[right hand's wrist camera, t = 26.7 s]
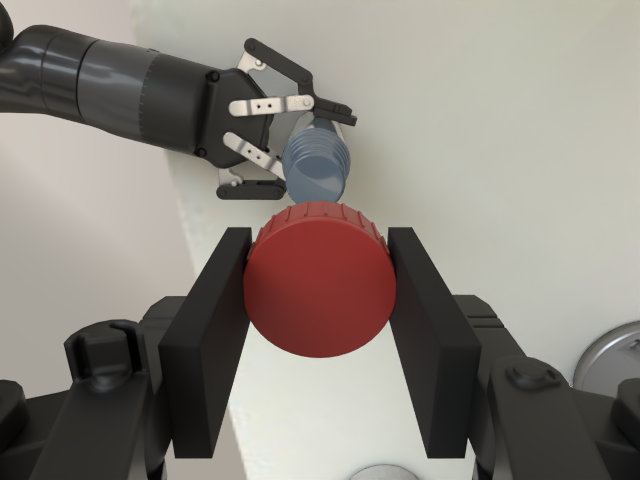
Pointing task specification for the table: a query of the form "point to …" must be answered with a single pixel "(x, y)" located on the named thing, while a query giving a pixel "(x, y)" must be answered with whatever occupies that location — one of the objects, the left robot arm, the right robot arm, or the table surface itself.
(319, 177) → the bottle
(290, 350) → the cap
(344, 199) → the table surface
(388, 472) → the flag stand
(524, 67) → the table surface
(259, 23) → the table surface
